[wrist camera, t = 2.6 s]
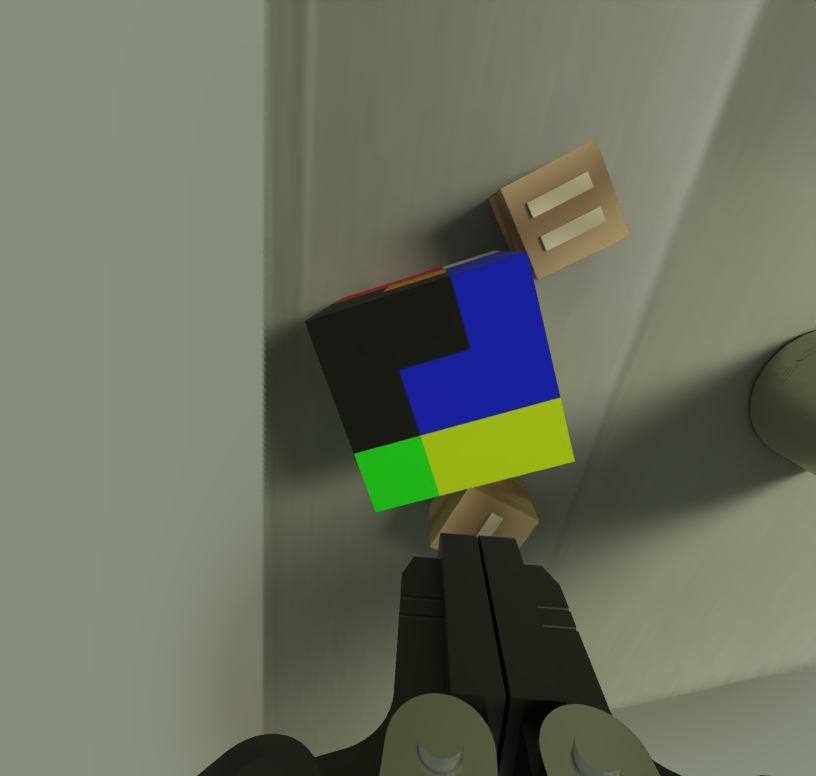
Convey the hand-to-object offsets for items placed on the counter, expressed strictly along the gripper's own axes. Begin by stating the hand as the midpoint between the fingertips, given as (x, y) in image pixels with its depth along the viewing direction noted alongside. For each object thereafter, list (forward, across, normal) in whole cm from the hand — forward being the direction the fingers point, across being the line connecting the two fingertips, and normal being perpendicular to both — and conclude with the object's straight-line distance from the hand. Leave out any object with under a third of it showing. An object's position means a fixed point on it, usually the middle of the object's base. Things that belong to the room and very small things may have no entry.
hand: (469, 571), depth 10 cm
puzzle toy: (+22, 0, 0) cm, 22 cm away
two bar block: (+22, -6, -8) cm, 24 cm away
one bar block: (+22, -4, +11) cm, 25 cm away
